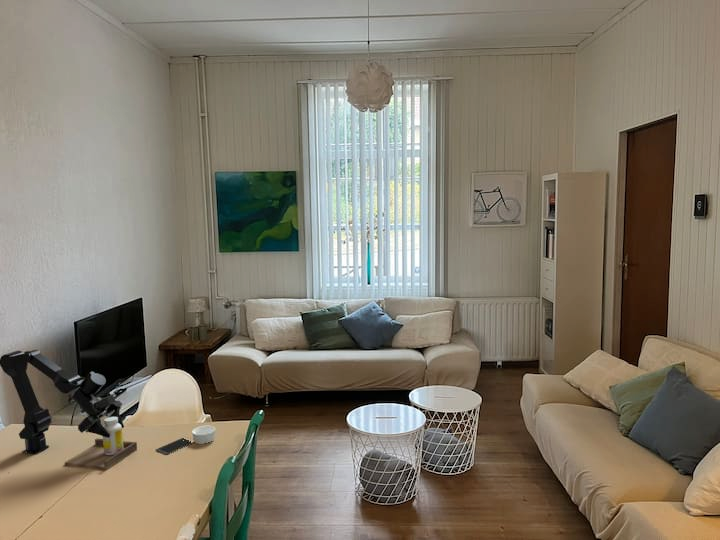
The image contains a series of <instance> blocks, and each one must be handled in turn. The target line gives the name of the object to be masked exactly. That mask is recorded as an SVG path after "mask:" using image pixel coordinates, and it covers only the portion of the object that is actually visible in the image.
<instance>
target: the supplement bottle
mask: <svg viewBox="0 0 720 540" xmlns="http://www.w3.org/2000/svg"><path fill="white" fill-rule="evenodd" d="M103 424H104V425H103V427H104V428H105V429H106V430H107V432H108V433H109V434H110V437H109V438H107V437H104V436H102V439H103V447H104V453H105V454H106V455H115V454H117V453H118V452H120V451H121V450H123V449H124V447H123V441H124V438H123V428H122V426H121V424H119V423H118V417H106V418H104V419H103Z"/></svg>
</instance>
